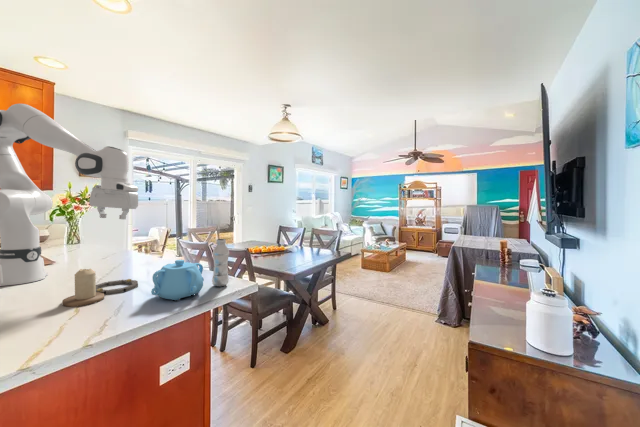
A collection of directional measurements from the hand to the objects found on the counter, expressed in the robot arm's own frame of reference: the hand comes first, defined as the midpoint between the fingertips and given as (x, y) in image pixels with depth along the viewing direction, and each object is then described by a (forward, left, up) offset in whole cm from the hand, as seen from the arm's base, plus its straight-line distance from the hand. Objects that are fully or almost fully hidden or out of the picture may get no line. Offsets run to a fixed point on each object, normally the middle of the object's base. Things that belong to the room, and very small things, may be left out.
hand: (112, 218), depth 112 cm
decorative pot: (+36, -7, -28) cm, 46 cm away
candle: (+8, -18, -27) cm, 34 cm away
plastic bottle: (+45, +7, -28) cm, 54 cm away
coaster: (+8, -19, -28) cm, 35 cm away
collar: (+6, -5, -28) cm, 29 cm away
